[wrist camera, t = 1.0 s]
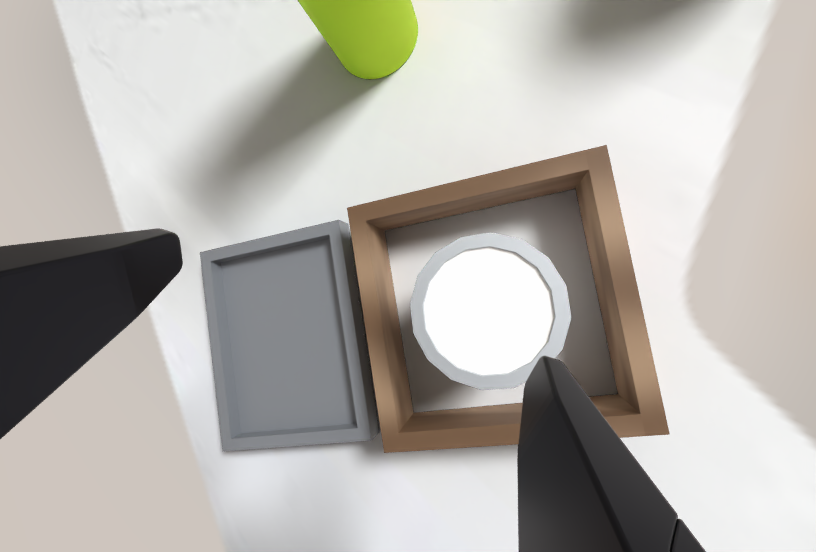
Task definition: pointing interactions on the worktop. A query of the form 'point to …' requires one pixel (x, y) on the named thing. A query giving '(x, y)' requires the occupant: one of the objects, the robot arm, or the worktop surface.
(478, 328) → the white tapered cup
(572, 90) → the worktop surface
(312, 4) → the soap dispenser
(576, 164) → the walnut bin
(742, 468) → the worktop surface
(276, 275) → the charcoal tray
